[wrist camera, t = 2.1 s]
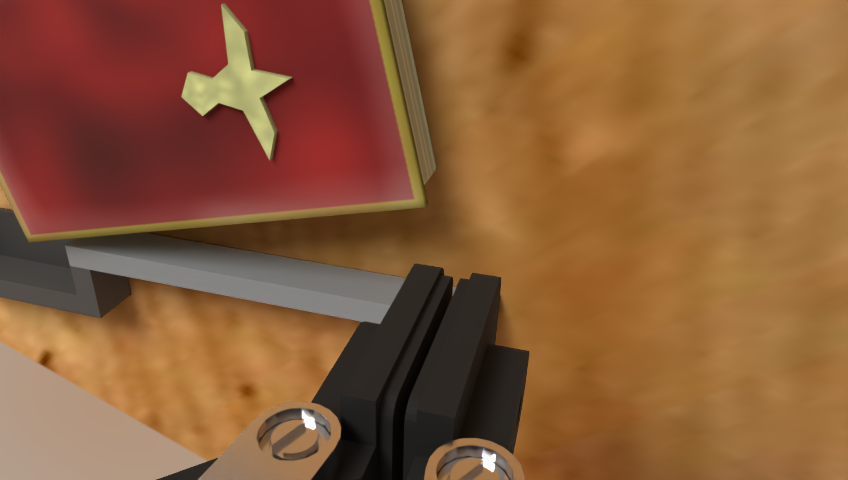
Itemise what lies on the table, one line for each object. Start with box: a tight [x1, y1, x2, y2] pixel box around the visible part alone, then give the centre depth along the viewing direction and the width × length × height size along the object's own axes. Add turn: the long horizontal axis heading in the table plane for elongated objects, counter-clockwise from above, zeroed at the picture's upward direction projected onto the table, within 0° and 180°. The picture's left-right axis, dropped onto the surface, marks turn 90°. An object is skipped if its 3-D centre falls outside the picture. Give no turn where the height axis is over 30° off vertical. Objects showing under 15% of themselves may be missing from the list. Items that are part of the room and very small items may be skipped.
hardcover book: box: [0, 0, 437, 242], centre depth 29 cm, size 12×21×4 cm, turn 102°
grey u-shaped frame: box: [0, 208, 456, 324], centre depth 29 cm, size 31×26×2 cm
